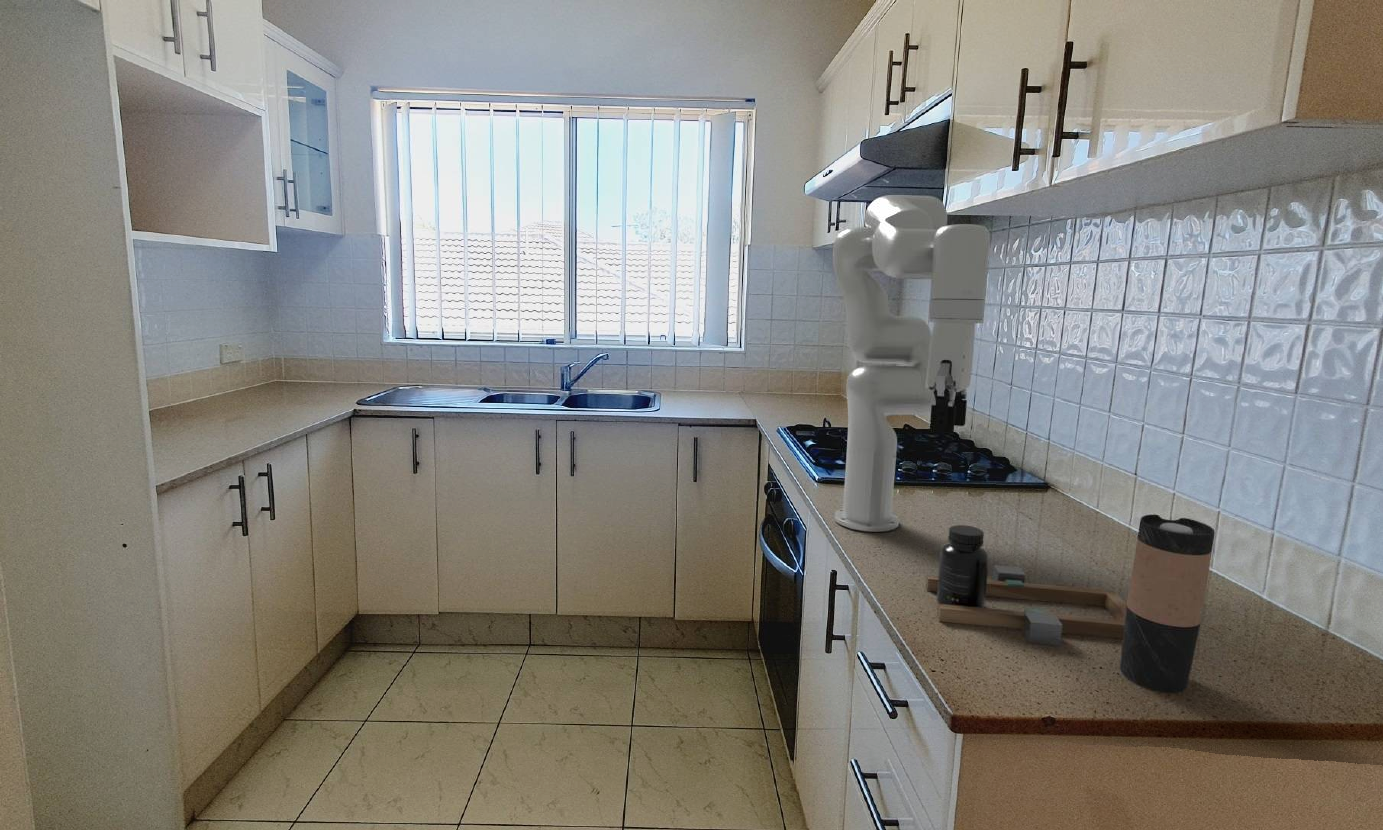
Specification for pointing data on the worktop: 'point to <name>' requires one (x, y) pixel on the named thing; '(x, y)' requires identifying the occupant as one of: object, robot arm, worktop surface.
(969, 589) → the supplement bottle
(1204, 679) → the worktop surface
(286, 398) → the worktop surface
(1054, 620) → the pivot blocks
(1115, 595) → the walnut rails
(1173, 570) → the travel mug
